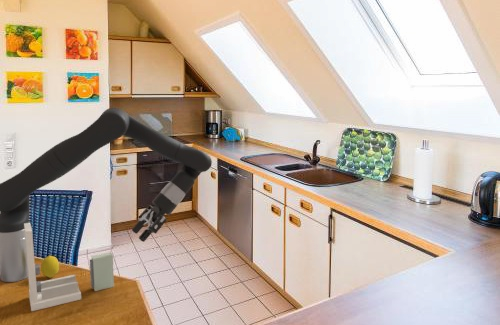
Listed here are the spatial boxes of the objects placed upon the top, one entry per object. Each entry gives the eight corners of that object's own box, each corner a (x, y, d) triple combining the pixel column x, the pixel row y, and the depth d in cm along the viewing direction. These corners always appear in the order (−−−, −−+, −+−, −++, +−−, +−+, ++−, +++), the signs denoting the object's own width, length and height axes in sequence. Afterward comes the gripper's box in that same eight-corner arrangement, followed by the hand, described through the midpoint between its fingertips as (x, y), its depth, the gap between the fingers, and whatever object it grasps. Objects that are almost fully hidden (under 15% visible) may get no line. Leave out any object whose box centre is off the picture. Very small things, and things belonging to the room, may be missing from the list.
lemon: (42, 275, 135) (40, 253, 134) (60, 273, 138) (58, 251, 136) (41, 282, 130) (39, 260, 129) (59, 279, 133) (58, 257, 131)
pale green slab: (112, 283, 131) (110, 252, 129) (114, 286, 129) (112, 255, 127) (90, 288, 128) (89, 256, 126) (92, 291, 125) (90, 259, 124)
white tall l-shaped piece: (76, 286, 128) (72, 216, 124) (81, 299, 121) (77, 224, 117) (29, 297, 121) (23, 223, 117) (31, 311, 114) (24, 232, 109)
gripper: (154, 187, 139) (123, 223, 135) (168, 196, 127) (134, 236, 123) (169, 199, 143) (139, 235, 139) (184, 209, 131) (151, 249, 127)
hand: (137, 236), depth 131 cm, fingers open, 8 cm apart
